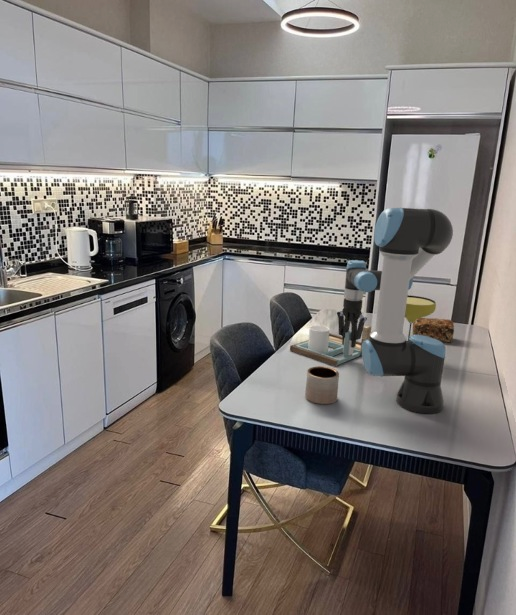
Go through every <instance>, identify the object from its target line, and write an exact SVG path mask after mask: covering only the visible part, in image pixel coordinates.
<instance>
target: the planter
mask: <svg viewBox="0 0 516 615" xmlns="http://www.w3.org/2000/svg"><path fill="white" fill-rule="evenodd" d="M339 378H340V372H339V371H338V370H336V369H335V368H332V367H329V366H322V365H321V366H320V365H319V366H312V367H309V368H308V369H307V371H306V382H305V392H304V393H305V394H304V395H305V398H306V399H307V400H308V401H310V402H311V403H313V404H317V405H329V404H330V405H331V404H333V403H335V402H336V401H337V399H338V393H339V381H340V380H339Z"/></svg>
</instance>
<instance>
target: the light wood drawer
mask: <svg viewBox="0 0 516 615" xmlns="http://www.w3.org/2000/svg"><path fill="white" fill-rule="evenodd" d="M371 332H372V326H371V325H364V327H363V331H362V335H361V345H358V344H356V346H355V347H354V348H357V349H360V350H362V344H363V342H364V341H365V340H369V337H370V333H371ZM329 340H330V341H334V342H337V343H340V344H342V340H341V339H338V338H334V337H331V336H329Z"/></svg>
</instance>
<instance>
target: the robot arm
mask: <svg viewBox="0 0 516 615" xmlns="http://www.w3.org/2000/svg"><path fill="white" fill-rule="evenodd" d="M453 232H454V229H453V225H452V222H451V220H450V219H449V218H448V216H447V215H446V214H445V213H444V212H442V211H440V210H438V209H435V208H434V209H432V208H414V207H413V208H411V207H408V208H407V207H388V208H385V209H384V210H383V211H382V212H381V213H380V215H379V216H378V218H377V220H376V224H375V227H374V233H373V236H374V238H373V239H374V243H375V245H376V246H377V247H379V251H378V252H379V253H380V254H381V255H382V257H383V260H382V268H381V270H368V269H367V263H366V262H365V261H363V260H359V259H358V260H356V259H355V260H354V259H352V260H348V262H347V265H346V268H345V270H346V271H345V272H346V273H345V282H344V283H345V284H344V292H343V297H344V298H343V306H342V307H343V308H342V310H340V311H337V312H336V315H337V318H338V319H337V320H338V322H337V323H338V324H337V325H338V336H341V337H343V340H342V344H343V345H344V343H345V333H346V332H349V331H351V339H350V340H349V350H348V355H351V354H353V350H354V347H355V346H356V341H358V340H361V339H362V332H363V327H365V322H366V321H367V319H368V318H367V317H366V316H363V314H362V313H363V312H362V308H363V299H364V293H371V292H373V291H379V294H378V295H379V296H378V303H377V312H376V317H375V318H376V321H375V326H374V327H375V328H374V329H373V330H371V333H370V337H369V340H365V341H364V342H363V344H362V355H361V358H362V364H363V366H364V369H365V370H366V373H367V374H368V375H370V376H372V377H375V376H376V377H381V378H382V377H404V380H403V382H402V383H401V384H400V387H399V389H398V391H397V393H396V400H395V401H396V403H397V404H398V405H399V406H400V407H402V408H403V409H406V410H408V411H411V412H414V413H418V414H419V413H420V414H431V415H432V414H437V413H440V412H442V411H443V410H444V402H445V401H444V395H443V391H442V387H441V385H442V380H443V379H442V378H443V372H444V366H445V359H446V358H447V357H446V350H447V349H446V345H445V344H444V342H441V341H439V340H437V339H434V338H431V337H427V336H423V335H413V334H410V338H409V341H408V337H406V335H405V334H404V324H405V319H406V318H405V310H406V303H407V295H408V294H409V290H410V289H412V286H413V282H414V281H413V280H414V279H413V277H414V276H416V275H417V273H418V272H419V271H421V270H422V269H423V268H424V266H425V265H427V263H428V262H430V261H431V259H432V258H433V257H435V256H437V255H440V254H441V253H443V252H444V251H445V250H446V249H447V248H448V247H449V245H450V243H451V242H452V239H453V236H454V233H453ZM350 326H351V329H350ZM342 354H344V346H343V352H342Z"/></svg>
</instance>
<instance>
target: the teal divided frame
mask: <svg viewBox="0 0 516 615" xmlns="http://www.w3.org/2000/svg"><path fill="white" fill-rule="evenodd" d="M350 339H351V330H349V332H346V333H345V343H344V345H341V344H337V343H334V342H331V341H329V342H328V348H329V347H330V348H333V349H332V350H328V352H326V353H323V354H322V353H319V352H316V351H313V350H310V349H308V342H309V341H308V342H305V343H302V344H299V345H296V347H299V348H302V349H305V350H308V351H311V352H314V353H317V354H320V355H323V356H325V357H328V358H331V359H334V360H337V366H338V365H341V364H343V363H345V362H348V361H351V360H352V359H355V358H357V357H361V356H360V354H361V351H360V350H357V349H354V350H353V354H351V355H348V350H349V340H350ZM343 346H344V353H343ZM339 354H343V355H342V356H343V357H341V358H337V357H334V356H336V355H339Z"/></svg>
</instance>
